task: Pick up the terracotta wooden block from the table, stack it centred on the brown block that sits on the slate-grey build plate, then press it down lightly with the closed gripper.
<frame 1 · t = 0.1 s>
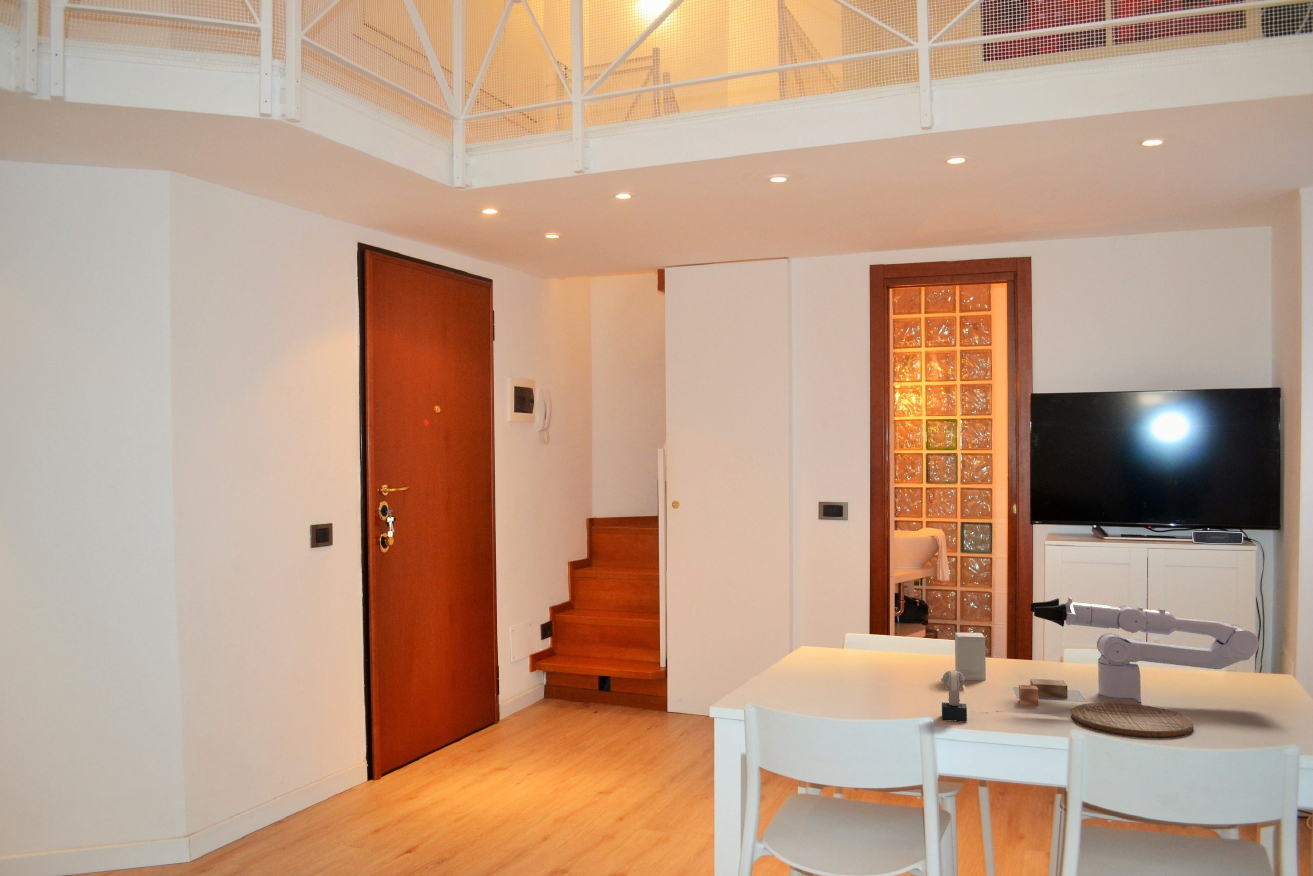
hand: (1032, 609, 248), 22 cm above the table, tool horizontal, fingers open, 7 cm apart
supplement box: (970, 681, 263), on the table
terracotta block: (1028, 707, 234), on the table
brown block: (1048, 694, 243), point 1 cm above the table, touching build plate
watch: (954, 719, 224), on the table
trivet: (1131, 725, 219), on the table
build plate: (1048, 698, 243), on the table
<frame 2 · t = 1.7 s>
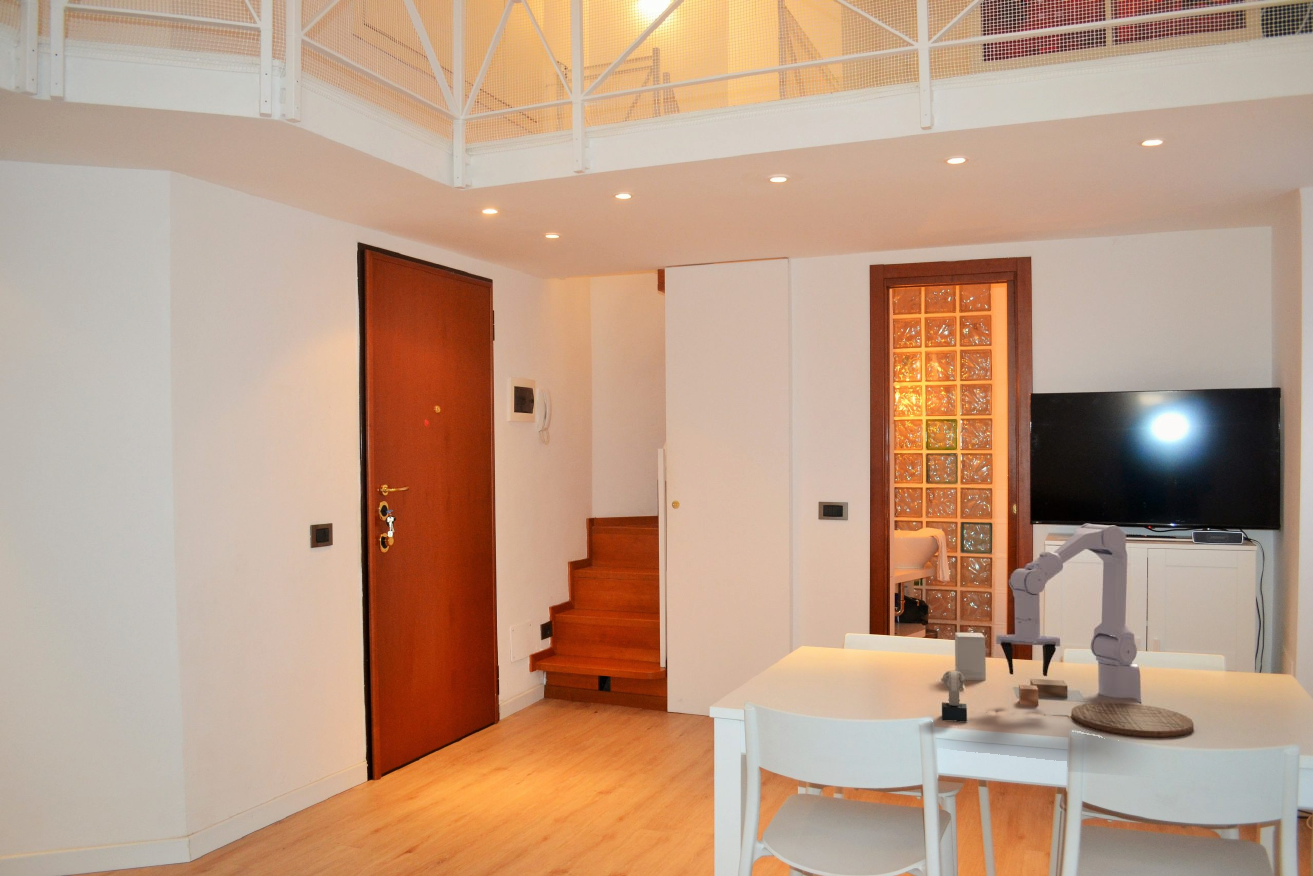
hand: (1028, 674, 234), 8 cm above the table, tool pointing down, fingers open, 7 cm apart
nothing on the table moved.
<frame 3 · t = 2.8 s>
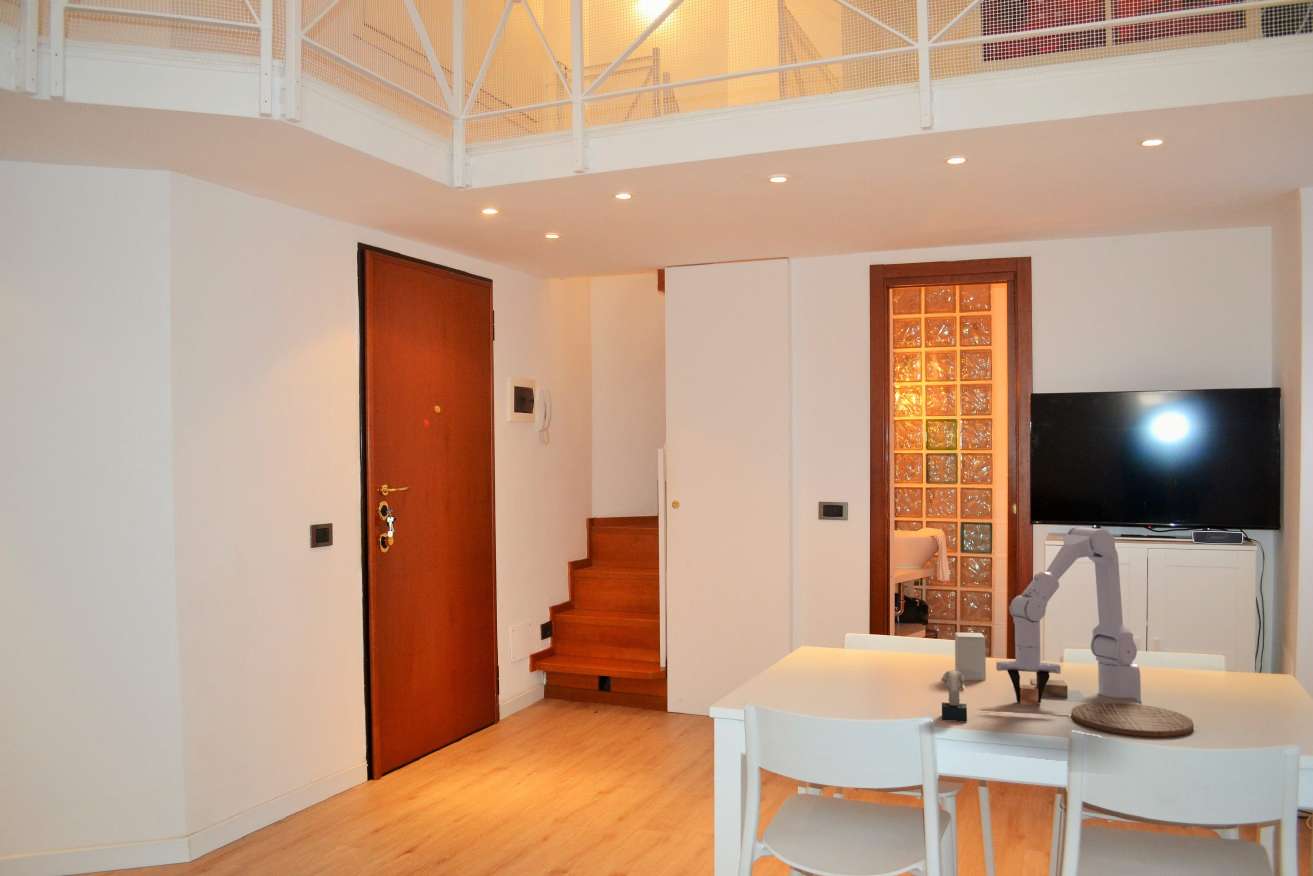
hand: (1028, 701, 234), 1 cm above the table, tool pointing down, fingers closed on terracotta block, 4 cm apart
terracotta block: (1028, 707, 234), on the table, touching gripper
everything else where it was.
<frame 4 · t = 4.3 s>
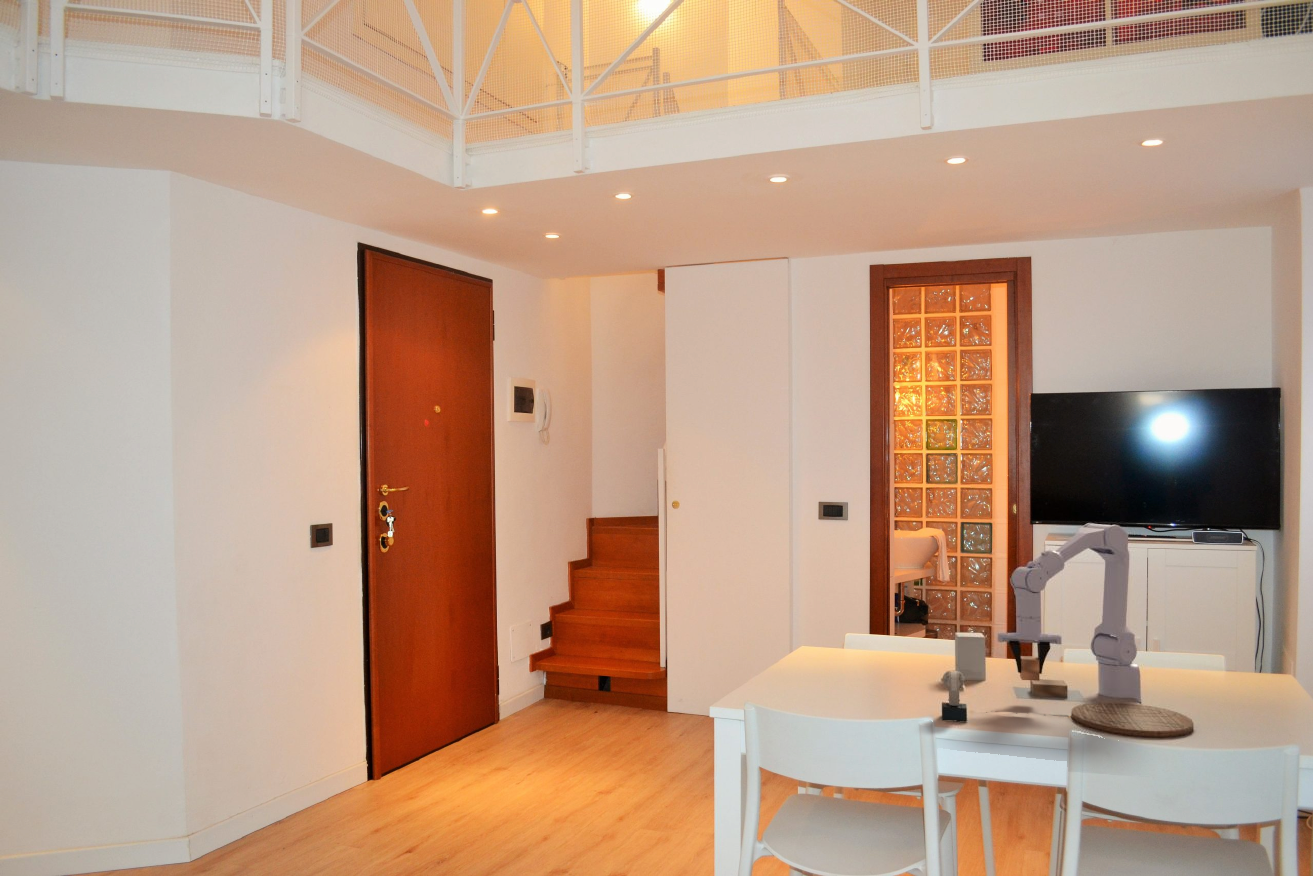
hand: (1029, 672, 234), 8 cm above the table, tool pointing down, fingers closed on terracotta block, 4 cm apart
terracotta block: (1029, 678, 234), point 7 cm above the table, touching gripper
everything else where it was.
when the fingers open (7 cm above the table, at t = 5.8 s): terracotta block drops 1 cm, resting on brown block.
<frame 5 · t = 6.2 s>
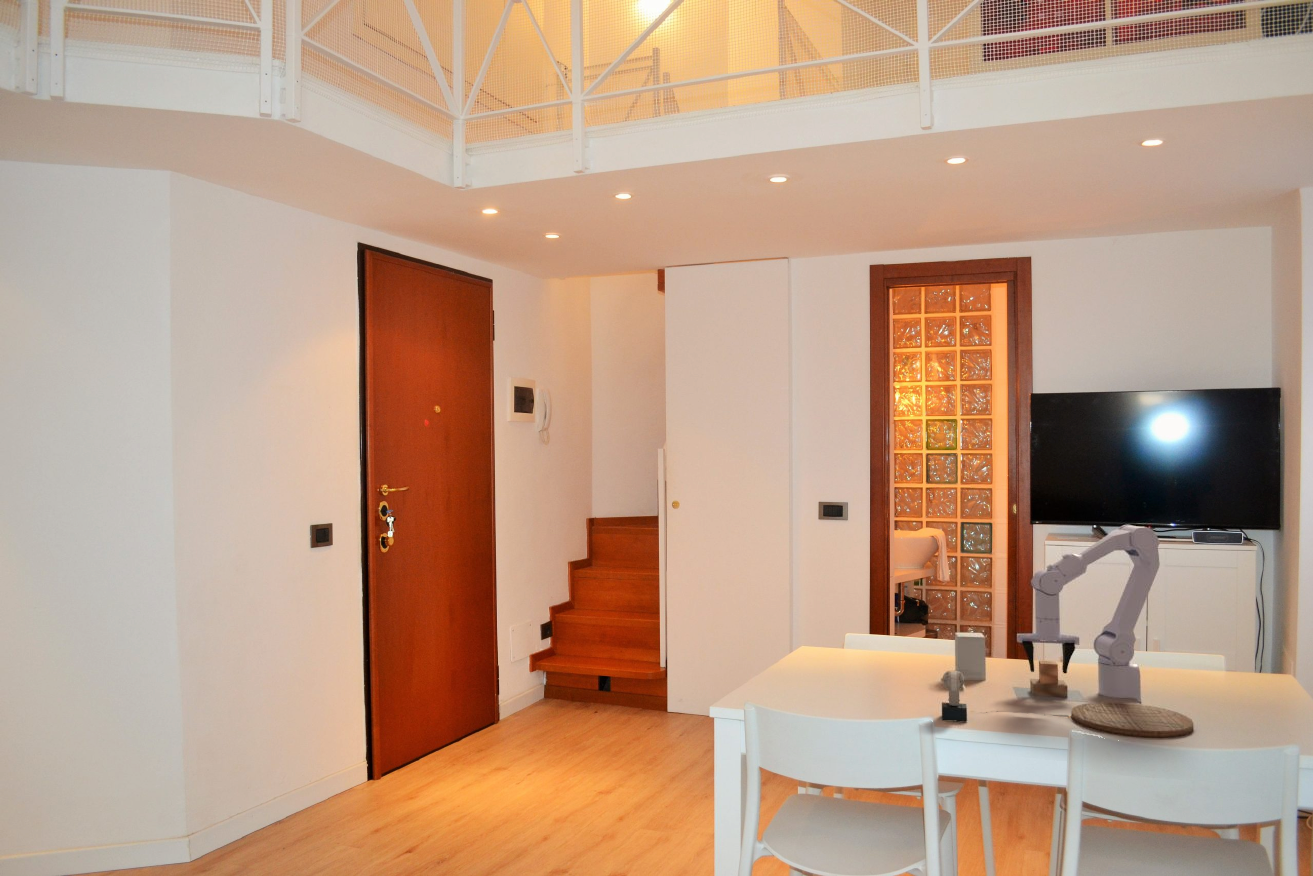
hand: (1048, 671, 243), 7 cm above the table, tool pointing down, fingers open, 7 cm apart
terracotta block: (1048, 682, 243), point 4 cm above the table, touching brown block
brown block: (1048, 694, 243), point 1 cm above the table, touching build plate, terracotta block
everything else where it was.
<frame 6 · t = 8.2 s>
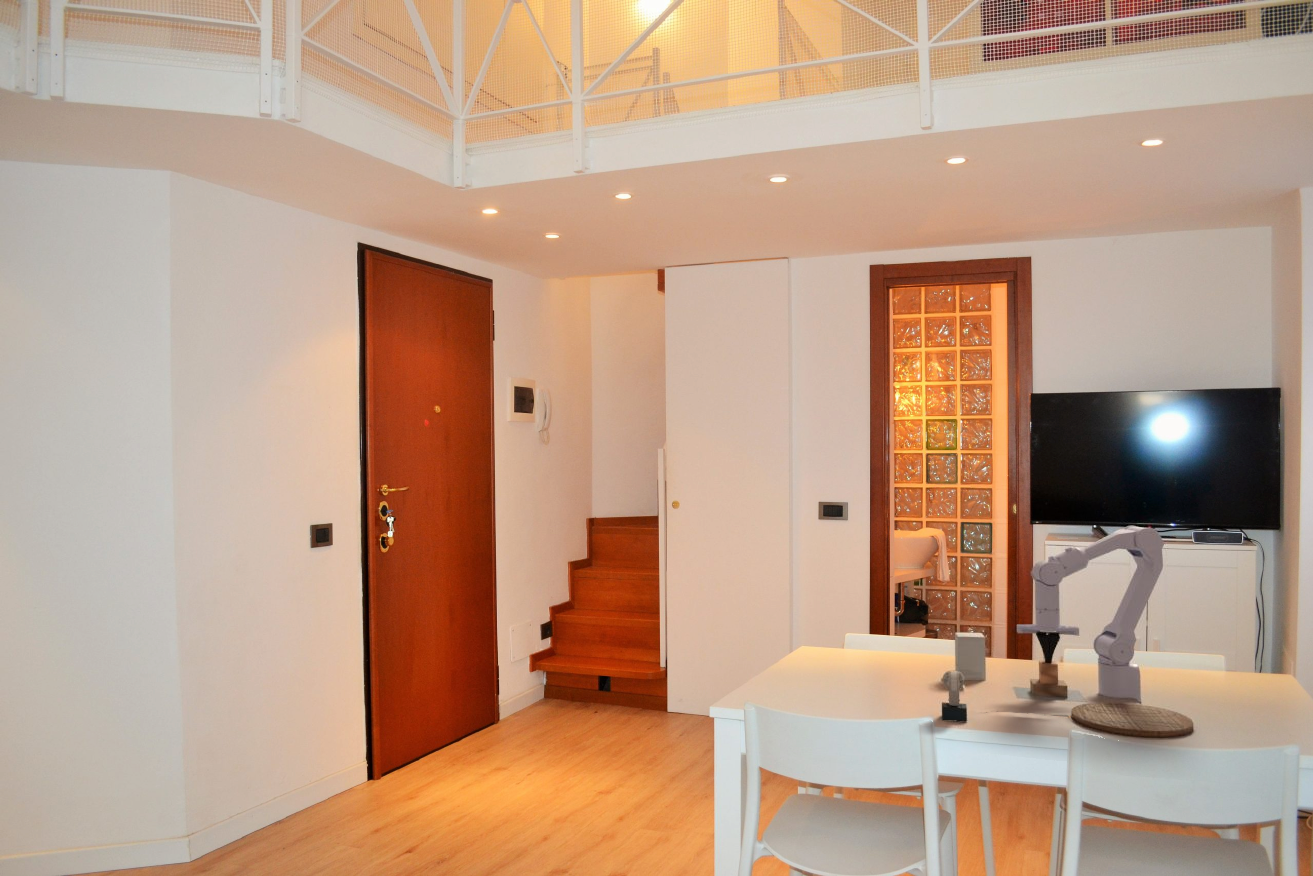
hand: (1048, 662, 243), 9 cm above the table, tool pointing down, fingers closed, pressing on terracotta block
terracotta block: (1048, 682, 243), point 4 cm above the table, touching gripper, brown block
everything else where it was.
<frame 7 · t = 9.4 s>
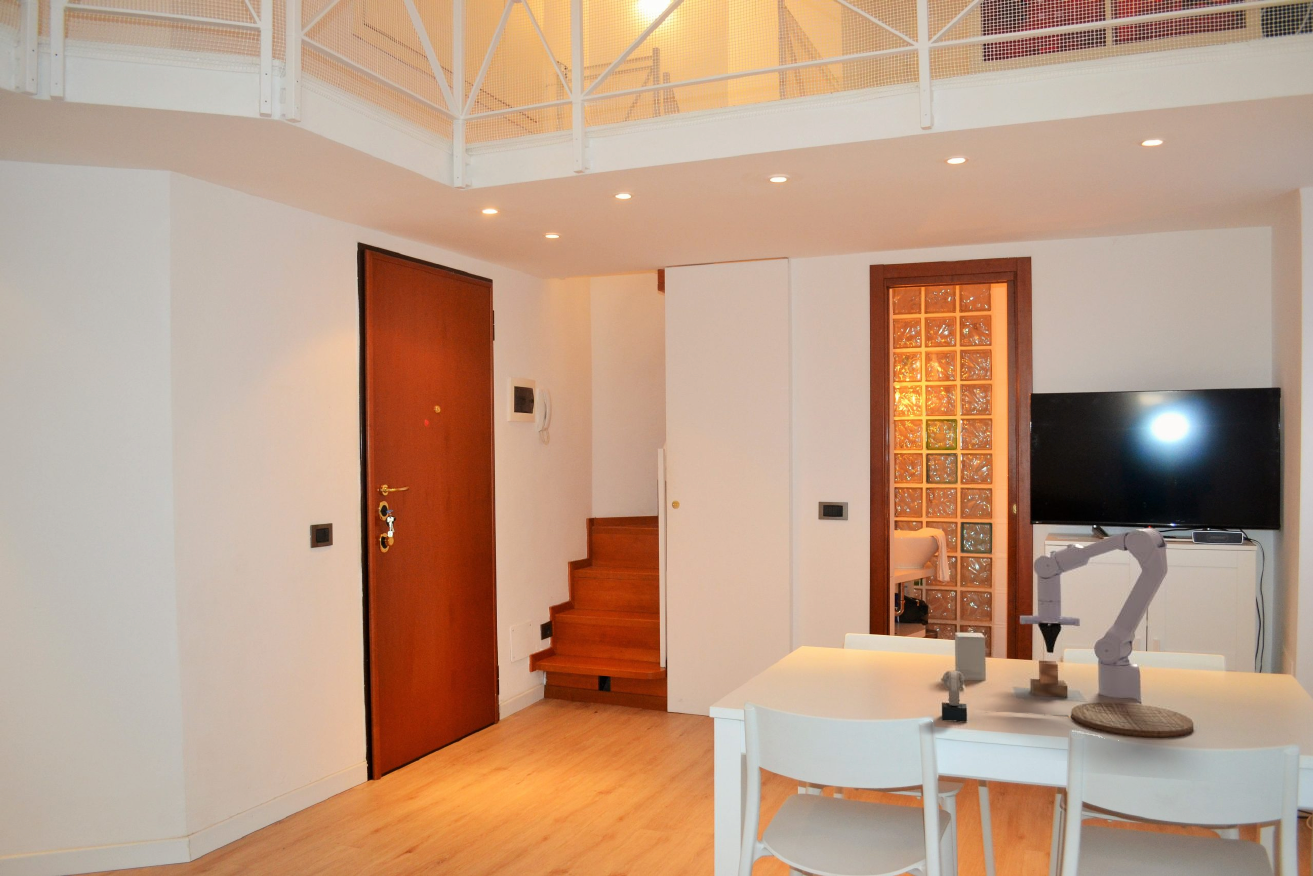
hand: (1050, 652, 254), 9 cm above the table, tool pointing down, fingers closed
terracotta block: (1048, 682, 243), point 4 cm above the table, touching brown block
everything else where it was.
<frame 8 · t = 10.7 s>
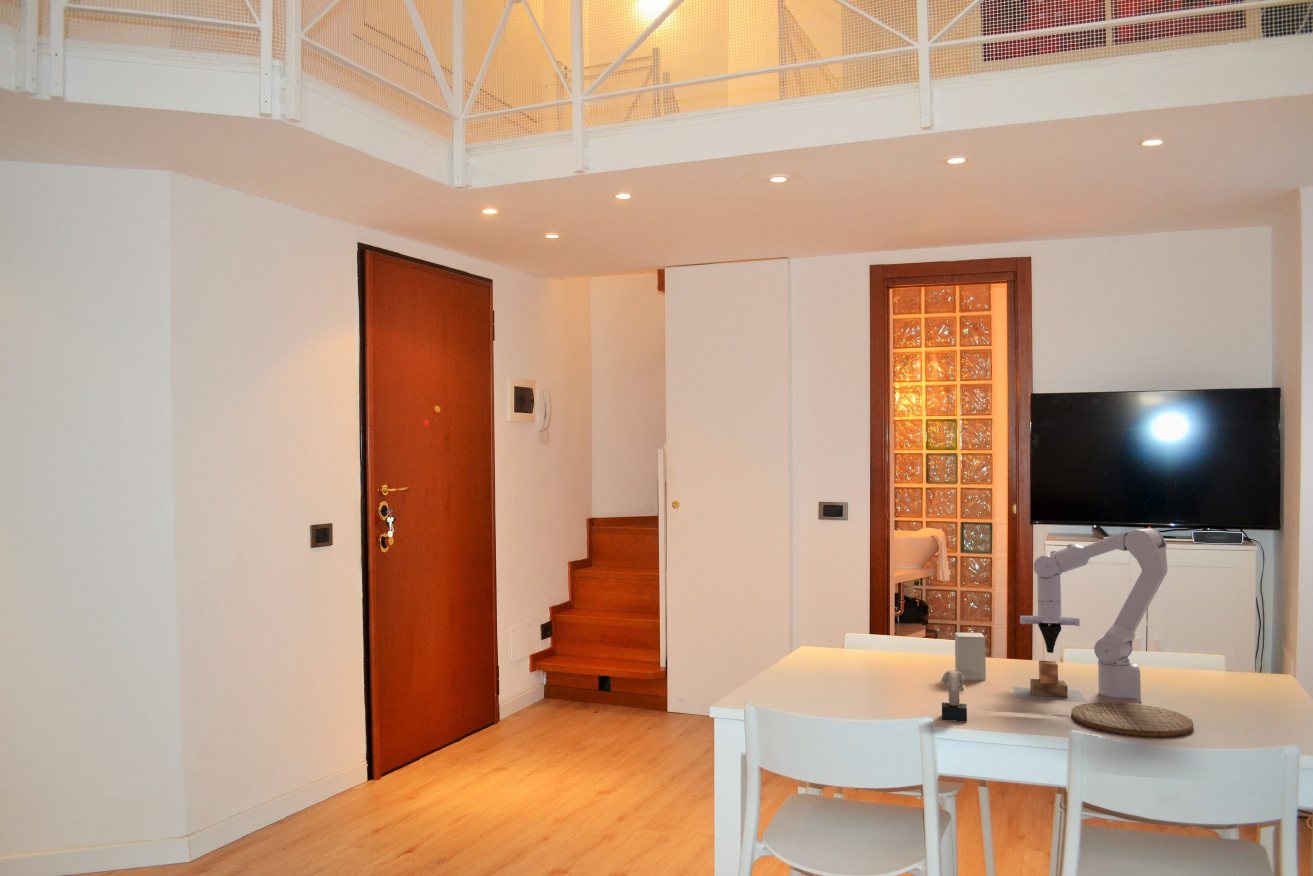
hand: (1050, 652, 254), 9 cm above the table, tool pointing down, fingers closed
nothing on the table moved.
at the end: terracotta block 0.1 cm off-centre on the brown block, point 3.0 cm above the brown block's base; terracotta block tilted 0°; the gripper is holding nothing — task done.
